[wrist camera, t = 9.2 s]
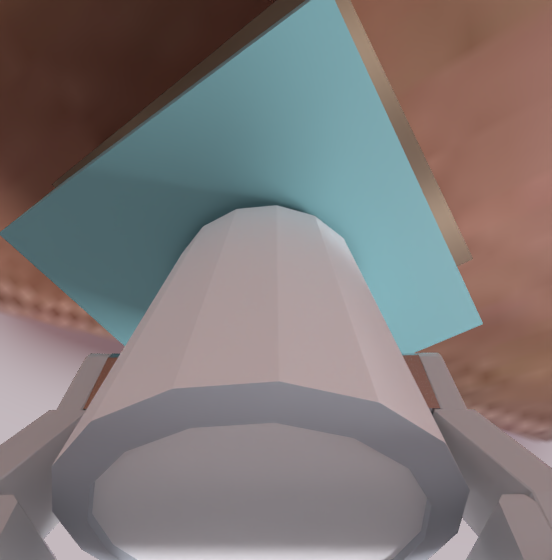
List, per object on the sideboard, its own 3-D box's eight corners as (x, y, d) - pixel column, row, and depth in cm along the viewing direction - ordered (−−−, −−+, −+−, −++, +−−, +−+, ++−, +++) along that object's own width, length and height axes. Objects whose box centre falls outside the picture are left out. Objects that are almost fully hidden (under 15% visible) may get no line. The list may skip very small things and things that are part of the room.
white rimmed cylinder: (128, 325, 13) (12, 567, 8) (207, 135, 10) (110, 307, 4) (308, 392, 15) (326, 631, 9) (428, 249, 12) (573, 483, 6)
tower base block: (99, 146, 20) (51, 184, 15) (315, -30, 16) (329, -44, 12) (248, 311, 25) (242, 372, 21) (434, 209, 21) (472, 258, 17)
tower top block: (59, 185, 15) (-2, 233, 12) (314, -7, 12) (328, -14, 9) (230, 363, 20) (221, 432, 17) (443, 263, 17) (483, 323, 14)
